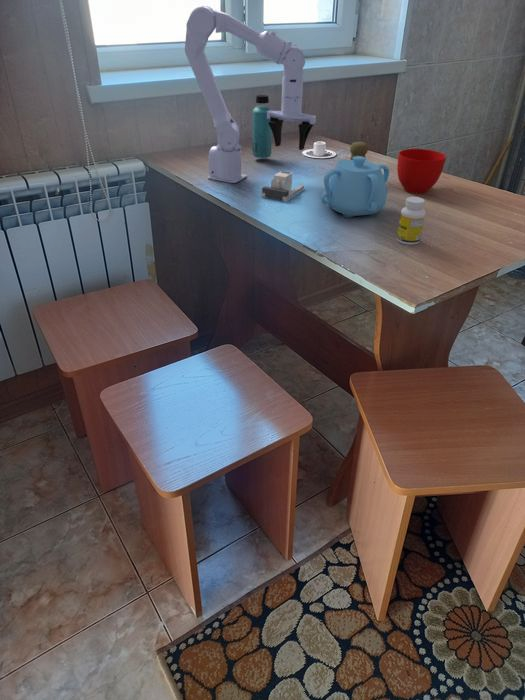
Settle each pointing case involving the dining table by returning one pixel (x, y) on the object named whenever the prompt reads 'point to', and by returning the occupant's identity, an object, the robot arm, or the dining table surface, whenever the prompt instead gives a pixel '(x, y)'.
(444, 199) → the dining table surface
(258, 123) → the beverage bottle
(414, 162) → the ceramic cup
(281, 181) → the plug block
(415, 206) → the supplement bottle
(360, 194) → the decorative pot
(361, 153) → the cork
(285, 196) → the socket
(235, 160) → the robot arm
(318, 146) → the candle holder
